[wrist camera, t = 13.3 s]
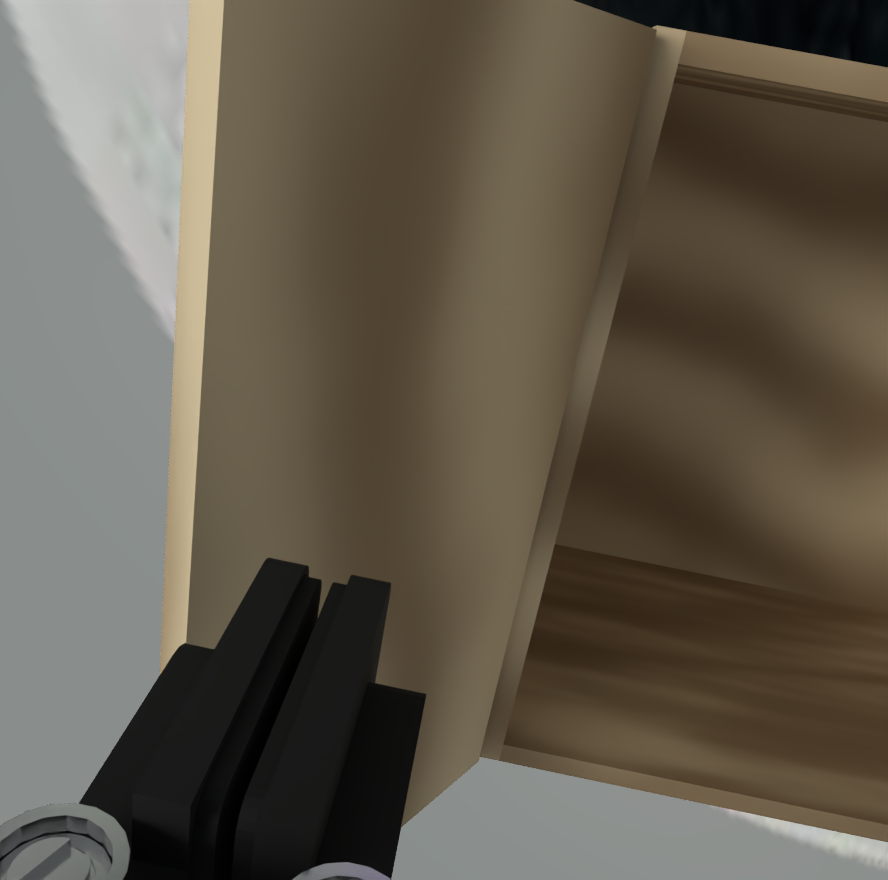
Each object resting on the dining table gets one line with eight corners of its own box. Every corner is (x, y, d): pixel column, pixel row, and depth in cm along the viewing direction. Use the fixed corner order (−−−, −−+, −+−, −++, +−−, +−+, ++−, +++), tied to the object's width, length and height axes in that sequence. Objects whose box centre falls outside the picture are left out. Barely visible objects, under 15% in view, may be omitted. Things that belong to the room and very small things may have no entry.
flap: (231, -121, 9) (195, -122, 9) (163, 1030, 16) (145, 1007, 16) (657, 29, 16) (629, 26, 17) (478, 761, 24) (461, 749, 24)
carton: (607, 51, 28) (656, 25, 17) (1241, 167, 28) (1753, 225, 16) (497, 540, 36) (477, 759, 24) (993, 640, 35) (1218, 914, 24)
